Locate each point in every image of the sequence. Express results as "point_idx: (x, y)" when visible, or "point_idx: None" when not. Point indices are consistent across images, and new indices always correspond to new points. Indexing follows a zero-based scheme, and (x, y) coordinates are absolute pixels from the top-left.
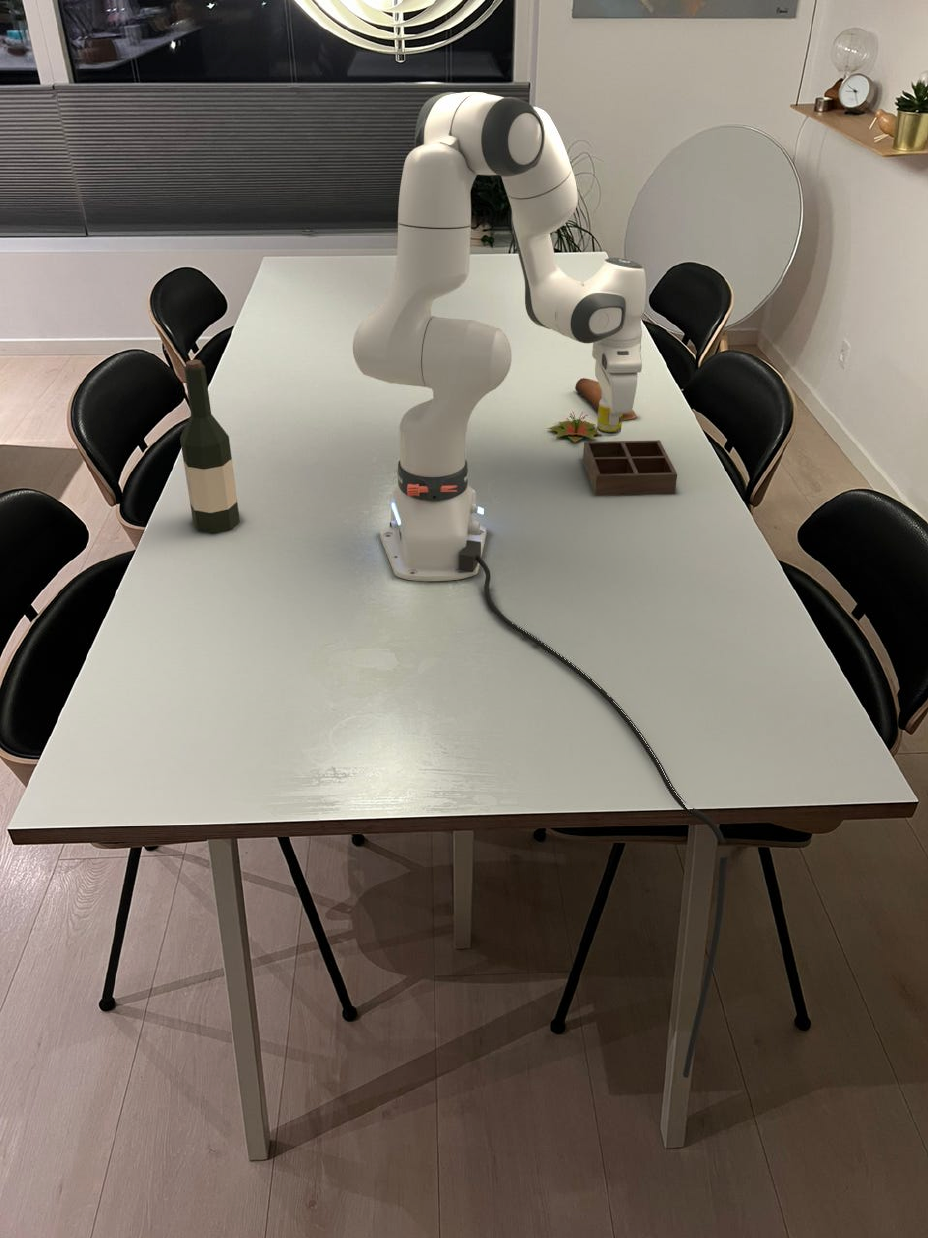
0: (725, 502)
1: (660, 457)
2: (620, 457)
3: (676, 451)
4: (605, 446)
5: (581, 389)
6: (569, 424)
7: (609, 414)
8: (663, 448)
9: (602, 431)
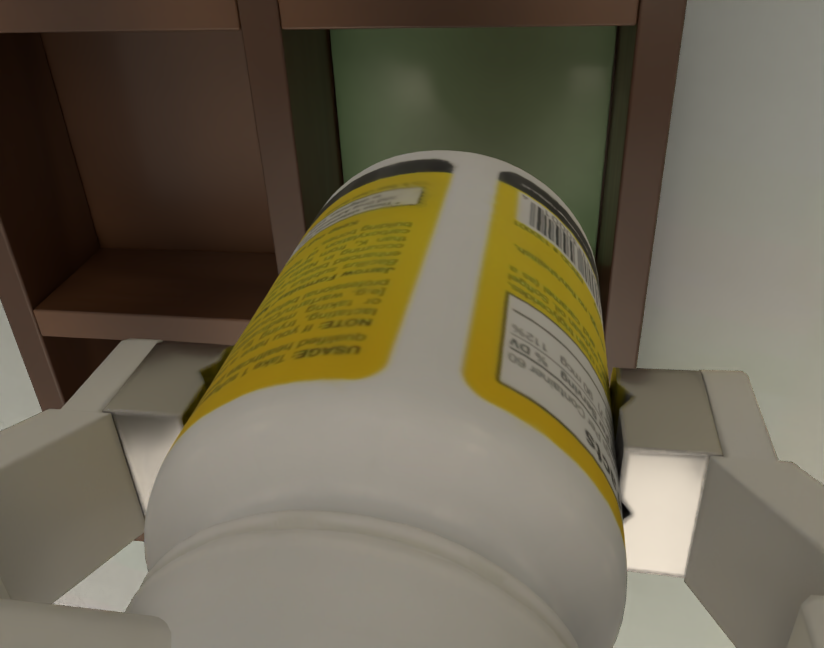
0: (104, 599)
1: None
2: None
3: (688, 589)
4: (615, 194)
5: None
6: None
7: (70, 422)
8: None
9: (321, 209)
